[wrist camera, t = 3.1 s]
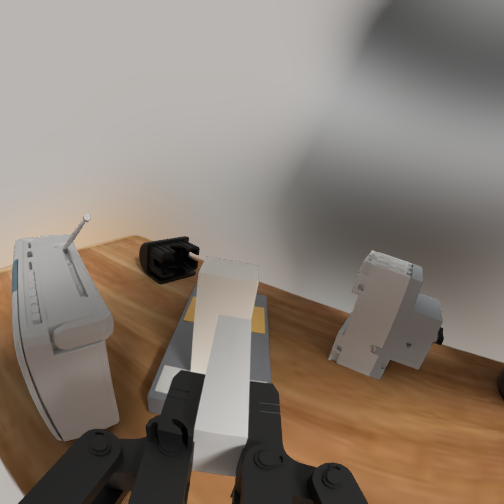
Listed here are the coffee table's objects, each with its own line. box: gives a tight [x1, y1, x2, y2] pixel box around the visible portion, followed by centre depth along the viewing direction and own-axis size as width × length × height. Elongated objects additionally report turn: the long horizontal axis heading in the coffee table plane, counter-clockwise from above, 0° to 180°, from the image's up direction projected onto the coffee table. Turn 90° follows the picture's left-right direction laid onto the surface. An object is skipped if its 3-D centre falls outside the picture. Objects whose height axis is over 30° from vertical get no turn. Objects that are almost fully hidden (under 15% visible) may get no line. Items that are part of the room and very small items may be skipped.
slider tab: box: [191, 257, 259, 375], centre depth 28 cm, size 5×4×12 cm
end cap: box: [139, 236, 199, 284], centre depth 55 cm, size 10×7×7 cm
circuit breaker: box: [328, 250, 444, 380], centre depth 35 cm, size 8×14×15 cm, turn 57°
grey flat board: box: [147, 284, 271, 415], centre depth 37 cm, size 12×26×3 cm, turn 179°
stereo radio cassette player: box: [12, 213, 120, 442], centre depth 23 cm, size 21×8×20 cm, turn 43°
